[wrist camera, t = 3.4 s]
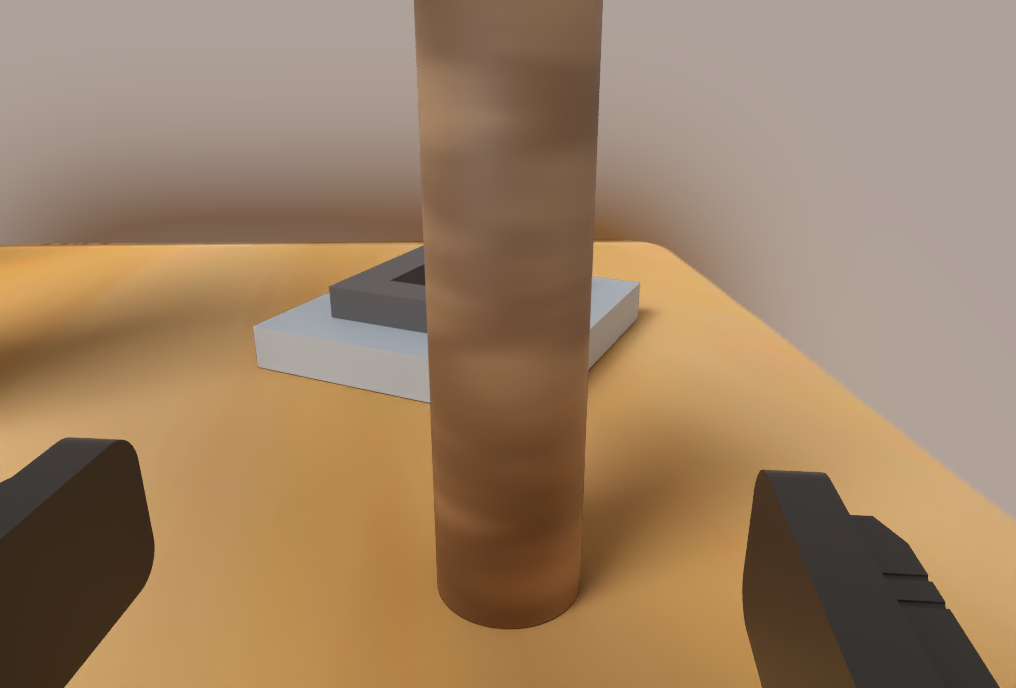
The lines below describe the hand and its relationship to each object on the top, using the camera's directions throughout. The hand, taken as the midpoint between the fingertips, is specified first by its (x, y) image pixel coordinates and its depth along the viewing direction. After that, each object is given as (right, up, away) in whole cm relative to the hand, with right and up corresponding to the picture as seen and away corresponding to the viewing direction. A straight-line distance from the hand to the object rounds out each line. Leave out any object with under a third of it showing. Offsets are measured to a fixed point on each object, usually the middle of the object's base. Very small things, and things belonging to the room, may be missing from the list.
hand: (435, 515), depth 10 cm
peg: (+1, -4, +12) cm, 13 cm away
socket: (-1, +2, +30) cm, 30 cm away
